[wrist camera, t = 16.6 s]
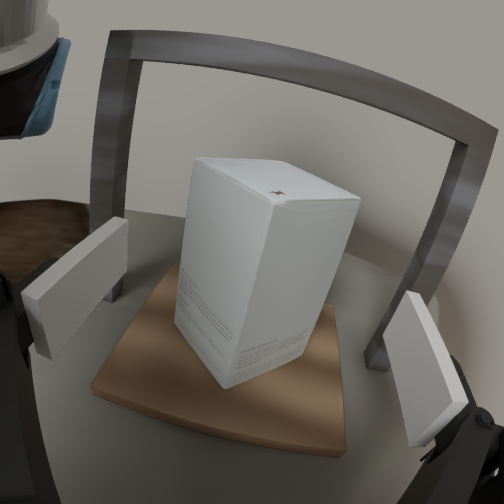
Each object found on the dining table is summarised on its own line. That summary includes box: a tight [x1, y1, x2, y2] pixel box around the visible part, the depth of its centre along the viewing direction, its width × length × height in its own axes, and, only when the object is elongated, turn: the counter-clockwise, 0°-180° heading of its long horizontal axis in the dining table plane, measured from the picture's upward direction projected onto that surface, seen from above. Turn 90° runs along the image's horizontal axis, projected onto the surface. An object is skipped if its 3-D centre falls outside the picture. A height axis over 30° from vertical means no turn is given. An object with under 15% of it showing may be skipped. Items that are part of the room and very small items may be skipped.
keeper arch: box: [90, 30, 498, 457], centre depth 19 cm, size 16×26×21 cm, turn 82°
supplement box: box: [174, 158, 361, 389], centre depth 21 cm, size 7×7×13 cm
